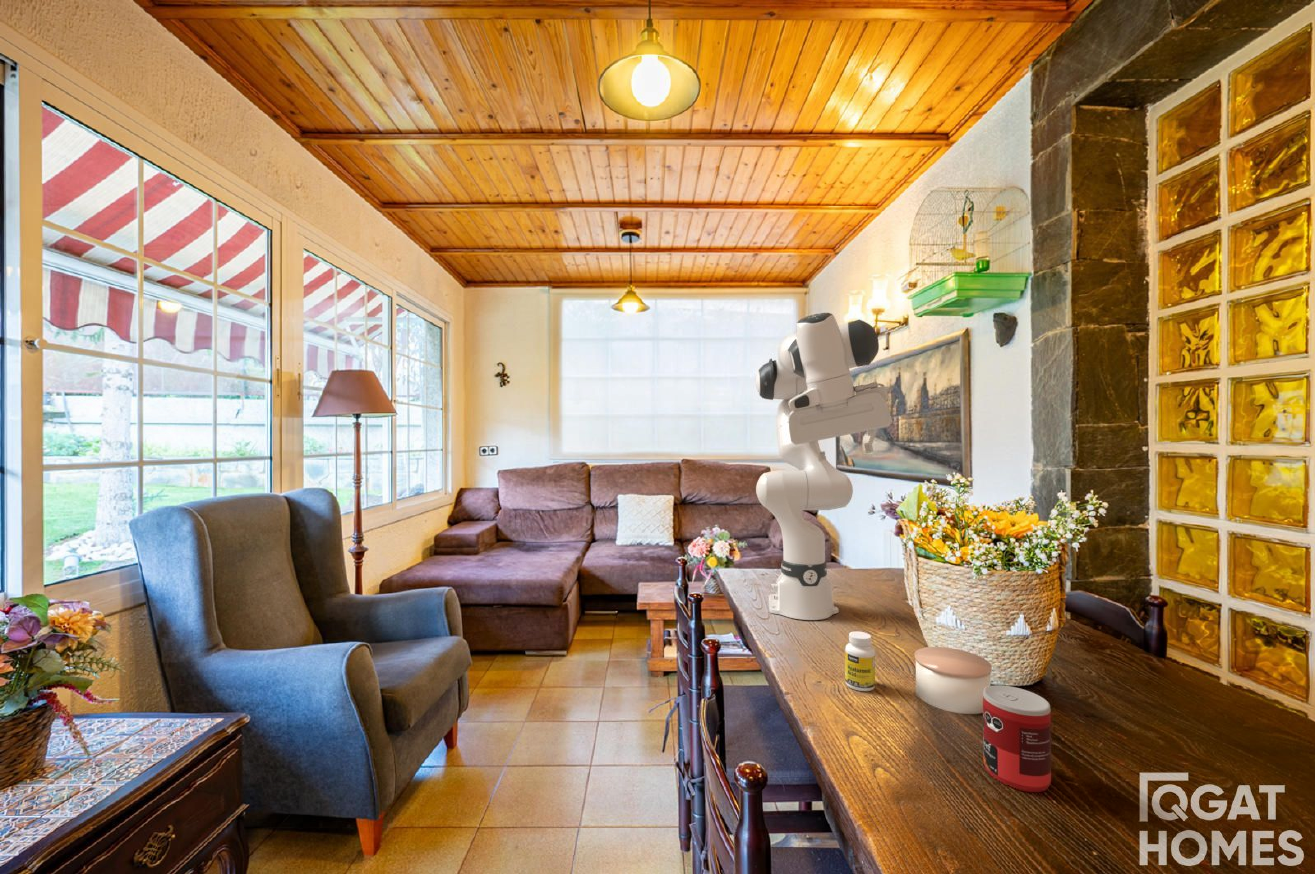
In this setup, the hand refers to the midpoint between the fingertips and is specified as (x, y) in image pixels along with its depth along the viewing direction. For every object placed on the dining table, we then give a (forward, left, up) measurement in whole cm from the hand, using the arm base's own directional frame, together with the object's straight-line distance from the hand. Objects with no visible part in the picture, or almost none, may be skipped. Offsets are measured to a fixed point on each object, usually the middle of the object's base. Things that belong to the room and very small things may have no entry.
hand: (845, 456), depth 112 cm
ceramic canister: (+13, +14, -44) cm, 48 cm away
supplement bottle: (+8, -1, -44) cm, 45 cm away
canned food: (+36, +10, -44) cm, 58 cm away
